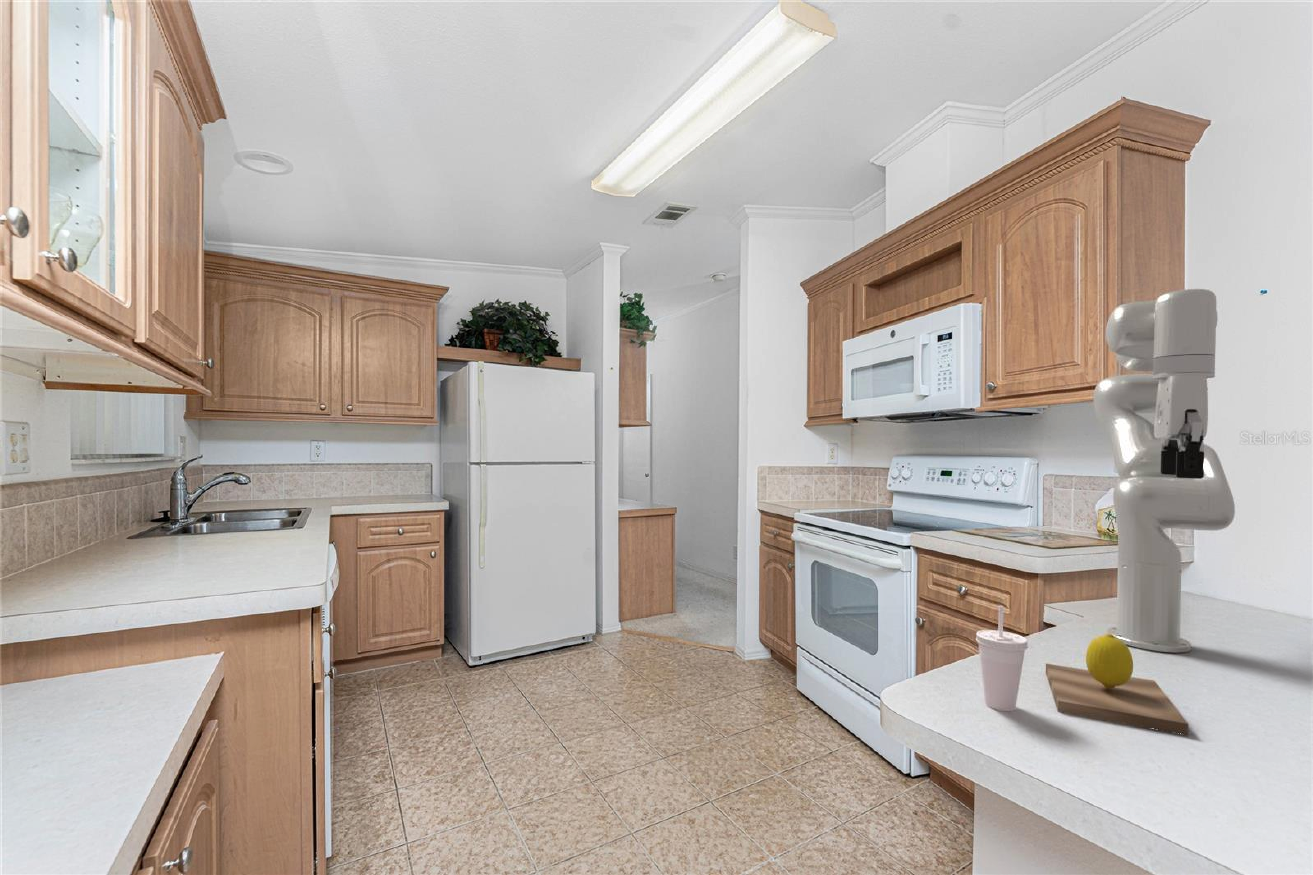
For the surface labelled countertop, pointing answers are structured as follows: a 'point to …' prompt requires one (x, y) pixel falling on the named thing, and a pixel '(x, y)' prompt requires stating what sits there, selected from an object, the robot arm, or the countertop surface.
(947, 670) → the countertop surface
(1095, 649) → the lemon
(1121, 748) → the countertop surface
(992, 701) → the smoothie
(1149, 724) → the cutting board
